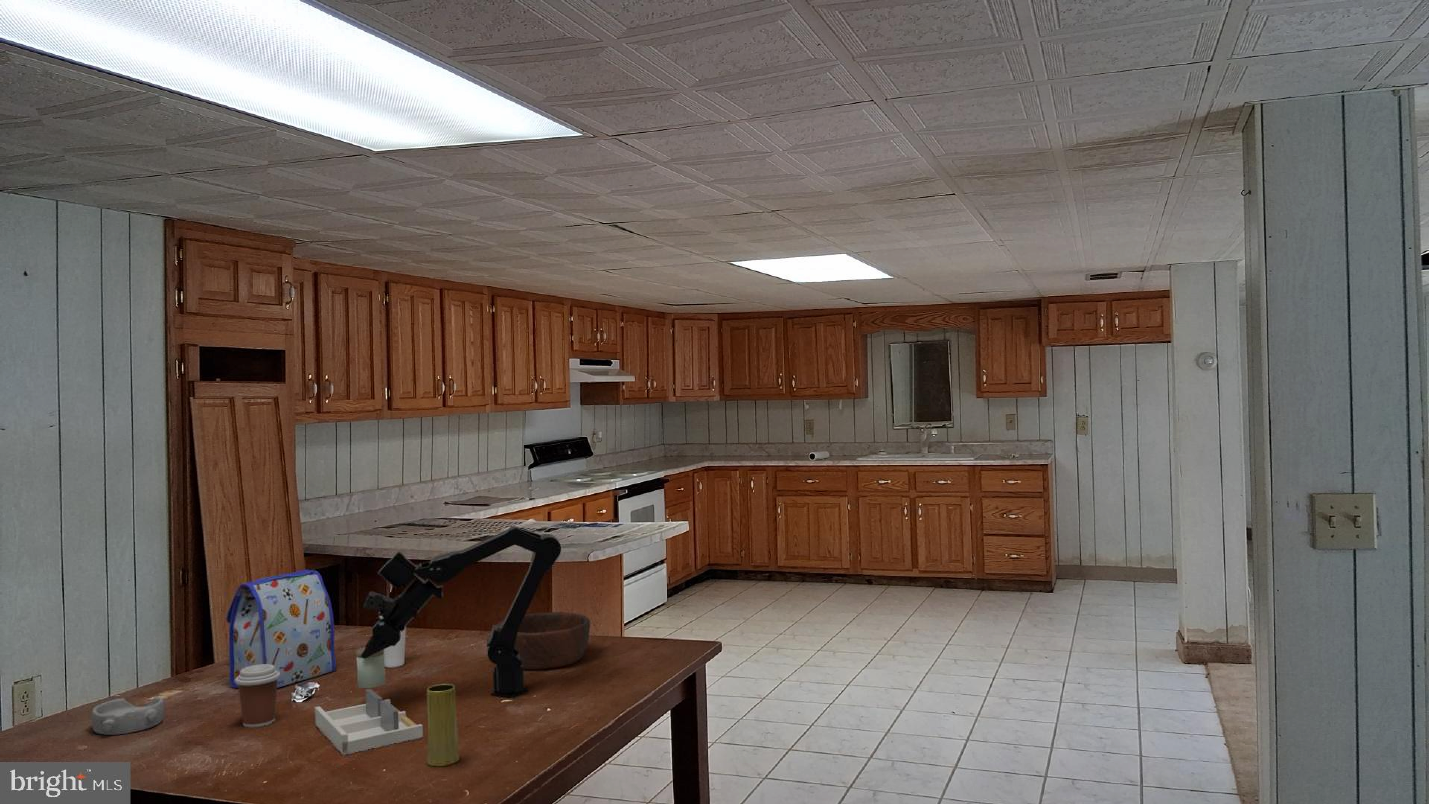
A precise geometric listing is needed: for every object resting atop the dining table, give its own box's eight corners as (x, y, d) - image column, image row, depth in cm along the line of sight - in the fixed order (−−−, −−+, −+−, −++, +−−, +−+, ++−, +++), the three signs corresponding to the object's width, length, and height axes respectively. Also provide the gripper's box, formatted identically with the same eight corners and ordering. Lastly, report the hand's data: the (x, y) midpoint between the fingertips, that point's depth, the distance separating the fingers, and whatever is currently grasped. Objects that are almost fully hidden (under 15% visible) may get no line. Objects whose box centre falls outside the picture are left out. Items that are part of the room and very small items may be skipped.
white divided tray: (389, 710, 221) (388, 683, 221) (422, 737, 202) (421, 708, 202) (315, 725, 211) (314, 697, 211) (343, 755, 193) (342, 724, 193)
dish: (97, 722, 219) (97, 700, 219) (168, 712, 224) (167, 691, 224) (85, 742, 205) (84, 719, 205) (159, 731, 211) (159, 709, 211)
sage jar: (391, 681, 225) (389, 646, 225) (373, 688, 219) (371, 653, 219) (370, 679, 227) (368, 645, 227) (352, 687, 222) (350, 652, 222)
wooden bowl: (545, 644, 277) (543, 608, 277) (610, 655, 262) (609, 617, 262) (476, 665, 257) (475, 626, 257) (543, 679, 242) (541, 637, 242)
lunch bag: (297, 664, 263) (293, 565, 263) (341, 670, 255) (338, 569, 255) (221, 688, 242) (217, 581, 242) (266, 695, 235) (263, 585, 235)
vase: (430, 756, 191) (428, 683, 191) (462, 754, 191) (459, 682, 191) (423, 768, 185) (421, 693, 185) (456, 766, 185) (454, 691, 185)
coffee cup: (291, 717, 218) (289, 664, 217) (259, 731, 209) (257, 675, 209) (258, 714, 220) (257, 661, 220) (226, 727, 212) (224, 672, 212)
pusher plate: (370, 712, 217) (370, 688, 217) (383, 723, 209) (382, 698, 209) (366, 713, 216) (365, 689, 216) (378, 724, 209) (377, 699, 209)
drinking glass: (399, 669, 254) (397, 612, 254) (375, 668, 256) (373, 612, 256) (412, 662, 261) (410, 606, 261) (389, 661, 262) (387, 606, 262)
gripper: (387, 572, 233) (341, 623, 230) (381, 586, 215) (330, 641, 212) (423, 601, 235) (377, 652, 233) (420, 618, 217) (370, 673, 214)
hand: (363, 653), depth 223 cm, fingers closed on sage jar, 6 cm apart
